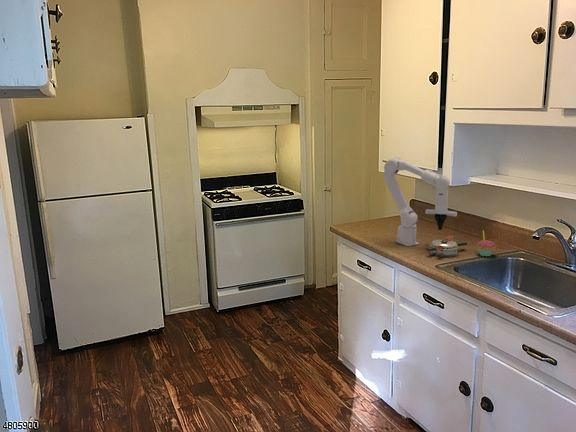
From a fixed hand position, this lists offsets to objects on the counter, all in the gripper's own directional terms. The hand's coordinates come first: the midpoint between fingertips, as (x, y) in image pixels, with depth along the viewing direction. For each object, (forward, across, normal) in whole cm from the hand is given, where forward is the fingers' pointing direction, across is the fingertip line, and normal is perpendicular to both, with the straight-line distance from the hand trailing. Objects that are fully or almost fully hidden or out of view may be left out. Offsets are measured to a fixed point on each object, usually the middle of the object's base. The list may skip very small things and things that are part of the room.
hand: (440, 229), depth 236 cm
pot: (+9, +5, -8) cm, 13 cm away
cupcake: (+9, +22, -3) cm, 24 cm away
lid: (+5, +4, -7) cm, 10 cm away
